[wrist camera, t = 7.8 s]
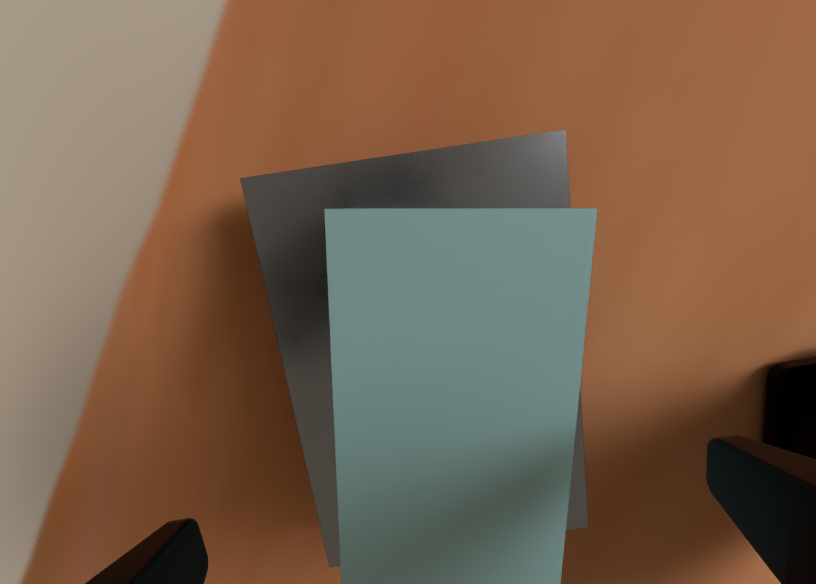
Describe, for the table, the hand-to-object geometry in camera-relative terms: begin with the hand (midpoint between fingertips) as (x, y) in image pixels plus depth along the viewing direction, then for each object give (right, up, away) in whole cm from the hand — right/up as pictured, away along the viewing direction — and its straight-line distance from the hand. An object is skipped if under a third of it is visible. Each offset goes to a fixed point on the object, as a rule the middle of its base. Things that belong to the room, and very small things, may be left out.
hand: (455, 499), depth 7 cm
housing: (0, +1, +5) cm, 5 cm away
